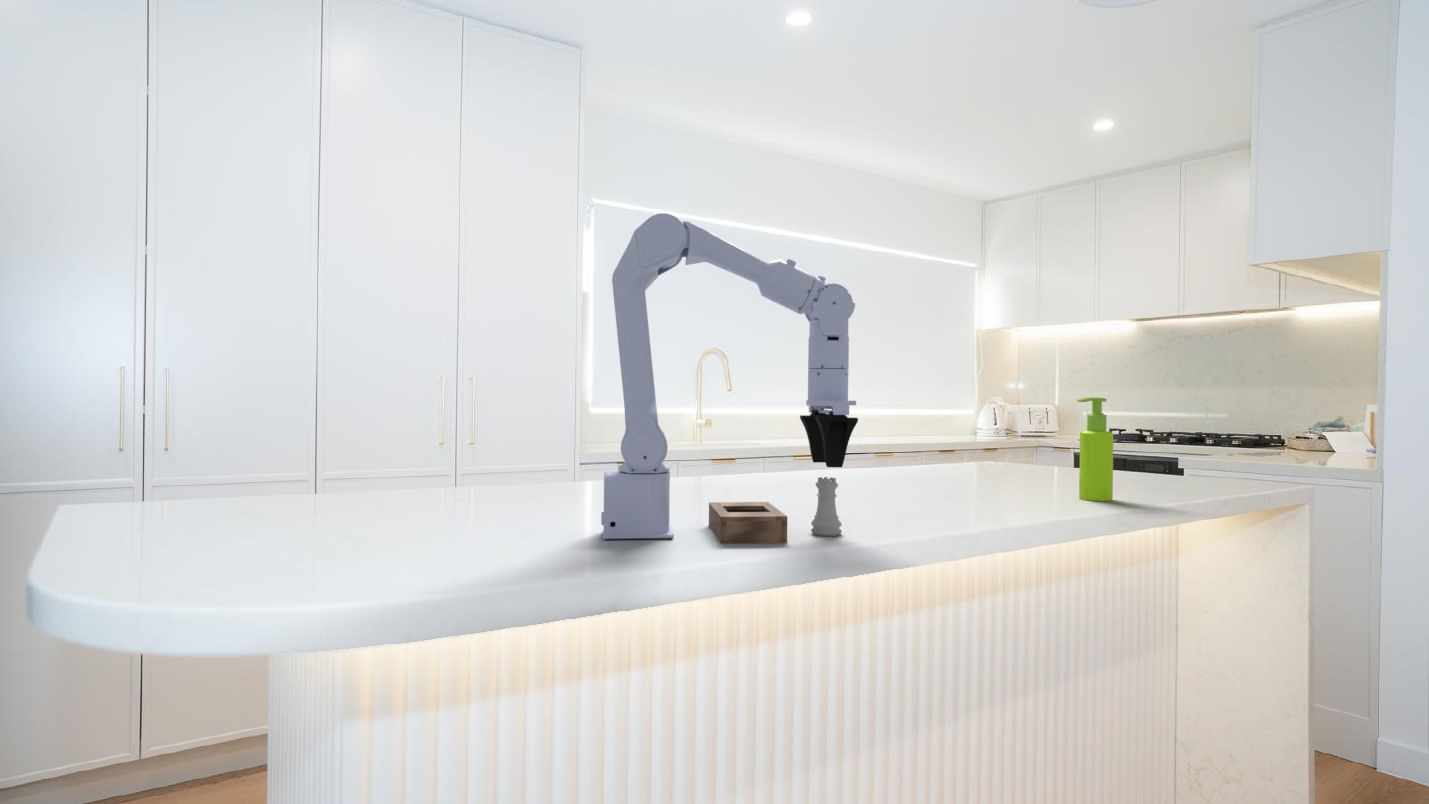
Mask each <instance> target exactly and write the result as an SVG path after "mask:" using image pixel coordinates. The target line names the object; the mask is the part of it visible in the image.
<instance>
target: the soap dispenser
mask: <svg viewBox="0 0 1429 804" xmlns="http://www.w3.org/2000/svg"><path fill="white" fill-rule="evenodd" d="M1077 402H1079V403H1087V402H1091V404H1092V405H1091V412H1090V413H1089V414H1087V416H1086V417H1087V419H1086V420H1087V421H1086V422H1087V423H1086V430H1084V431H1081V432H1080V433H1079V474H1078V475H1079V477H1078V478H1079V484H1078V485H1079V486H1078V489H1079V491H1078V492H1079V493H1078V499H1080V500H1084V501H1091V502H1092V501H1093V502H1111V501H1113V498H1114V497H1113V493H1114V492H1113V491H1114V489H1113V487H1114V486H1113V485H1114V483H1113V481H1114V432H1111V431H1107V414H1104V412H1103V410H1102V408H1103V402H1104V403H1105V402H1107V398H1104V397H1082V398H1078V399H1077Z"/></svg>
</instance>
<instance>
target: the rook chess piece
mask: <svg viewBox="0 0 1429 804" xmlns="http://www.w3.org/2000/svg"><path fill="white" fill-rule="evenodd" d="M814 485H815V487H816V488H817V489H818V493H817V494H816V497H817V507H816V511H815V515H814V518H813V519H812V520H811V523H810V524H811V526H812V528H811V529H810V531H811V532H812V534H813V535H814V536H818V537H838V536H840V535H841V533H842V532H843V530H841V528H840V527H842V522H841V521H840V520H839V516H838V514H837V507H836V498H837V494H836V489H837V488H838V487H839V484H838V483H837V478H836V477H833V476H832V477H829V478H828V477H827V476H824V477H823V476H822V477H818V478H817V482H816V483H815V484H814ZM837 535H838V536H837Z"/></svg>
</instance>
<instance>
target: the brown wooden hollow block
mask: <svg viewBox="0 0 1429 804" xmlns="http://www.w3.org/2000/svg"><path fill="white" fill-rule="evenodd" d="M708 527H709V528H710V530H711V531H712V533H713V534H714V536H715V537H716V538H717V540H718V542H719V543H720V544H747V543H749V544H759V543H760V544H761V543H762V544H763V543H765V544H767V543H770V544H771V543H772V544H773V543H788V516H787V515H786V514H785V513H784V512H782V511H781V510H780V509H778V508H777V507H776V506H775V505H773V504H772V503H770V502H769V501H749V502H748V501H729V502H728V501H726V502H725V501H724V502H723V501H721V502H717V501H716V502H715V501H711V502H708Z"/></svg>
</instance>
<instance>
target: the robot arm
mask: <svg viewBox="0 0 1429 804" xmlns="http://www.w3.org/2000/svg"><path fill="white" fill-rule="evenodd" d="M683 258H685V263H684V264H685V266H689V265H695V264H700V263H708V264H711V265H713V266H716V267H717V268H720V269H722V270H725V271H727V272H729V273H732V274H734V275H736V276H738V277H741V278H743V279H745V280H747V281H750V282H752V283H755V284H756V285H757V287H758V290H759V293H760V295H761V297H763V298H765V299H767V300H769V301H772V302H773V303H776V304H777V305H780V306H781V307H784V308H786V309H788V310H790V311H792V312H794V313H797V314H799V315H802V314H804V315H805V318H806V319H807V321H808V322H809V336H808V349H807V350H808V359H807V360H808V361H807V367H808V368H807V399H806V401H805V404H806V406H807V407H808V413H809V415H808V414H807V415H806V414H805V415H799V419H800V421H801V423H802V425H803V427H804V429H805V430H804V431H805V433H806V436H807V439H808V444H809V449H810V455H811V459H812V462H813V463H825V466H826V467H827V468H843V466H844V462H845V457H846V453H847V450H848V446H849V445H848V444H849V441H850V439H851V436H852V433H853V430H855V427H856V426H857V423H858V422H859V417H848V416H850V406H857V400H849V369H850V368H849V366H850V365H849V354H850V353H849V352H850V351H849V350H850V344H849V343H850V337H849V320H850V318H851V317H852V316H853V313H854V311H855V307H856V303H855V302H853V297H852V294H851V293H849V290H848V289H847V288H846V287H844V286H843V285H842V284H838V283H827V284H826V277H824V276H822V275H818V276H815V275H813V274H811V273H809V272H807V271H805V270H802V269H801V268H799V267H796V265H797V262H796V261H795V260H793V259H791V258H790V259H789V258H788V259H787V260H785V261H784V260H782V259H779V258H778V259H775V260H772V261H770V262H766V261H764V260H762V259H760V258H758V257H756V256H755V255H752V254H751V253H749V252H748V251H746V250H743V249H742V248H740V247H738V246H736V245H734V244H733V243H731V242H729V241H727V240H725V239H724V238H721V237H719V236H718V235H716V234H714V233H712V232H710V231H709V230H707V229H705V228H703V227H701V226H699V225H697V224H695V223H694V222H690V221H687V220H683V221H681V220H680V219H679V218H678V217H676V216H675V215H673V214H670V213H666V212H665V213H663V212H661V213H656V214H653V215H651V216H650V217H648V218H647V219H646V220H645V221H644V222H643V223H641V224H640V225H639V226H638V227H637V228H636V229H635V230H634V231H633V233H632V236H631V238H630V240H629V242H628V244H627V246H626V248H625V250H624V252H623V254H622V256H621V258H620V260H619V261H618V264H617V266H616V267H615V268H614V270H613V273H612V277H611V282H612V293H613V303H614V305H613V306H614V314H615V323H616V333H617V343H618V355H619V364H620V374H621V384H622V394H623V403H624V405H623V407H624V422H625V423H624V424H625V429H624V434H623V436H622V439H621V442H620V452H621V456H622V459H623V460H624V463H622V464H620V465H618V466H617V467H618V468H617V469H618V471H606V472H604V475H603V479H604V480H603V511H602V512H601V516H600V517H601V519H600V521H601V526H603V532H602V533H603V537H602V538H603V539H604V540H608V539H609V540H613V539H614V540H617V539H618V540H620V539H621V540H622V539H623V540H624V539H625V540H626V539H627V540H628V539H673V538H674V536H675V534H674V532H673V529H672V527H671V525H670V500H671V499H670V492H671V491H670V484H671V482H670V478H671V477H670V476H671V472H670V471H671V470H670V469H671V468H670V467H669V466H667V465H665V464H664V460H665V459H666V456H667V455H668V448H669V447H668V446H669V445H668V441H667V438H666V436H665V433H664V431H663V430H662V429H661V427H660V425H659V420H658V419H659V418H658V410H657V409H658V408H657V400H656V388H655V380H654V371H653V370H654V368H653V359H652V349H651V337H650V330H649V329H650V328H649V327H650V325H649V320H648V309H647V307H648V306H647V298H646V291H647V289H649V287H650V286H651V285H652V284H653V283H654V282H655V281H656V279H658V277H659V276H660V275H663V274H665V273H666V272H668V271H671V270H672V269H673V268H675V267H676V266H678V265H679V264H680V263H681V261H682V259H683Z"/></svg>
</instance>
